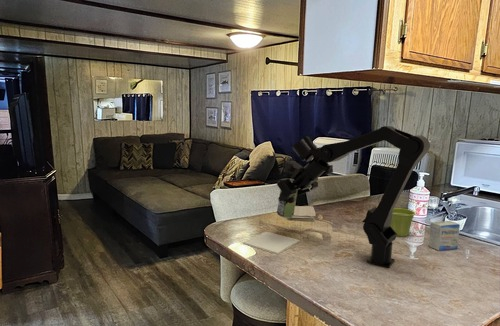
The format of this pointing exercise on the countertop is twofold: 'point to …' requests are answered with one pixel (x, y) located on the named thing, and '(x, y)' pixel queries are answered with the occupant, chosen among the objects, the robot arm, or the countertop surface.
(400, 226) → the plant pot
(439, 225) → the medicine box
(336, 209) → the countertop surface
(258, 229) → the countertop surface
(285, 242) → the cream mat
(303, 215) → the washcloth
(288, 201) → the beverage can
